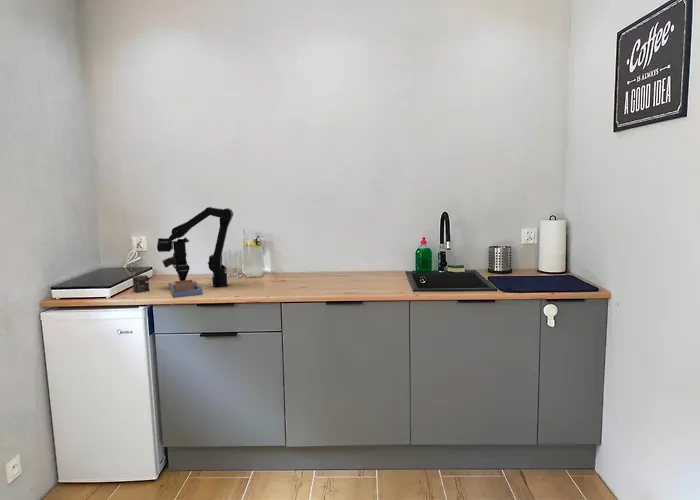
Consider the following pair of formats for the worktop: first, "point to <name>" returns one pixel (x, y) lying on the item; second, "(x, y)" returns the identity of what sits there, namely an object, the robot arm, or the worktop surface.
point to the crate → (184, 285)
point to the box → (140, 283)
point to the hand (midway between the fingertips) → (181, 282)
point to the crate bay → (185, 291)
